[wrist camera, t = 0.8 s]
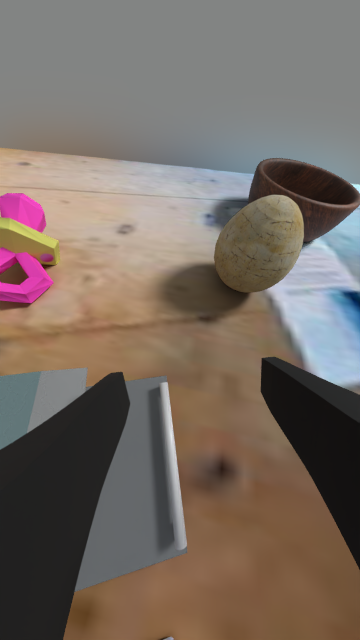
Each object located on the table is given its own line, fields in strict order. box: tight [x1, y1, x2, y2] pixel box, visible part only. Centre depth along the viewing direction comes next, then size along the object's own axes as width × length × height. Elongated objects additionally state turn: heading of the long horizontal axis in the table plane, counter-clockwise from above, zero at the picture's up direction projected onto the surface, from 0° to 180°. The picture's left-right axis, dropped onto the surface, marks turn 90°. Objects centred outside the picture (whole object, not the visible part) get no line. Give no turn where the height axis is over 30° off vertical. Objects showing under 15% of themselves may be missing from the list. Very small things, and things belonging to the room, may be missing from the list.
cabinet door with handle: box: [74, 376, 187, 592], centre depth 17 cm, size 14×9×4 cm, turn 9°
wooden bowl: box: [248, 158, 360, 242], centre depth 44 cm, size 25×25×10 cm
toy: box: [0, 193, 60, 303], centre depth 26 cm, size 10×18×10 cm, turn 6°
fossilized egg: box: [214, 195, 304, 293], centre depth 27 cm, size 13×13×15 cm
